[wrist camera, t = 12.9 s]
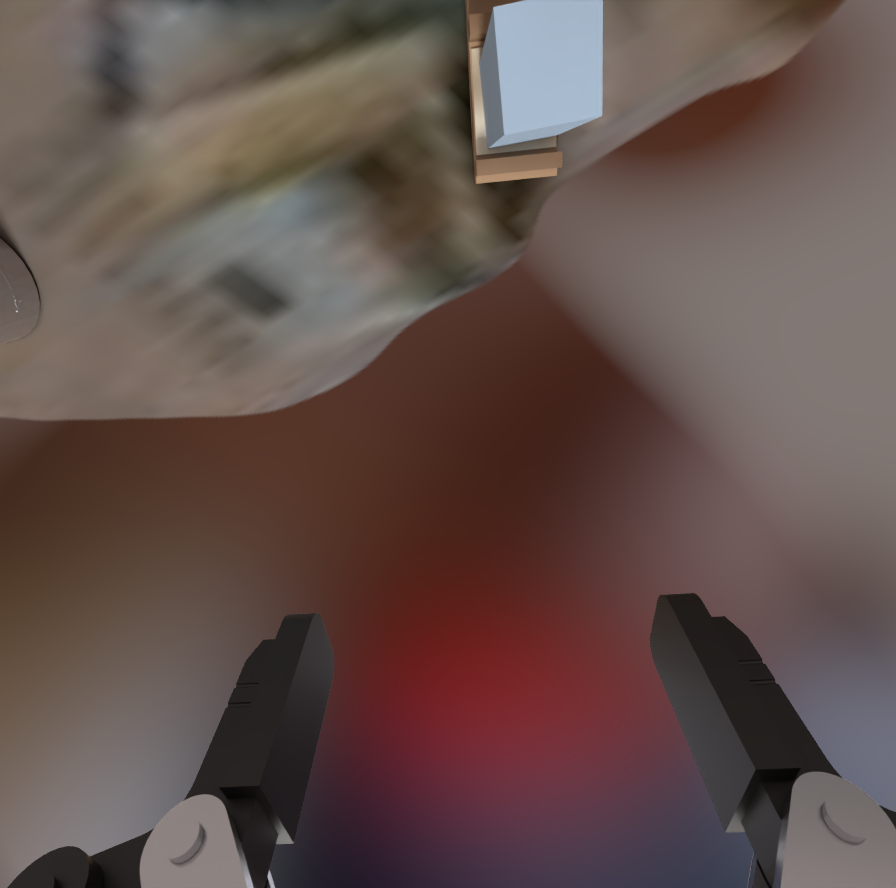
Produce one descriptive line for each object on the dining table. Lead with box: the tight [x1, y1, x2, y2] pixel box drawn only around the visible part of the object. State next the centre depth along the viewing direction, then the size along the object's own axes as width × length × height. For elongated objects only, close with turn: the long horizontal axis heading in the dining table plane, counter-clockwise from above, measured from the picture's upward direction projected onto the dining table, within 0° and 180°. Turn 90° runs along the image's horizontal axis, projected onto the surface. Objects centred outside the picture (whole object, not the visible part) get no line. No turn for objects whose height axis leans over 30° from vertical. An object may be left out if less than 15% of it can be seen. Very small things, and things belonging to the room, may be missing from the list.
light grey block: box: [479, 0, 603, 149], centre depth 22 cm, size 4×4×10 cm
